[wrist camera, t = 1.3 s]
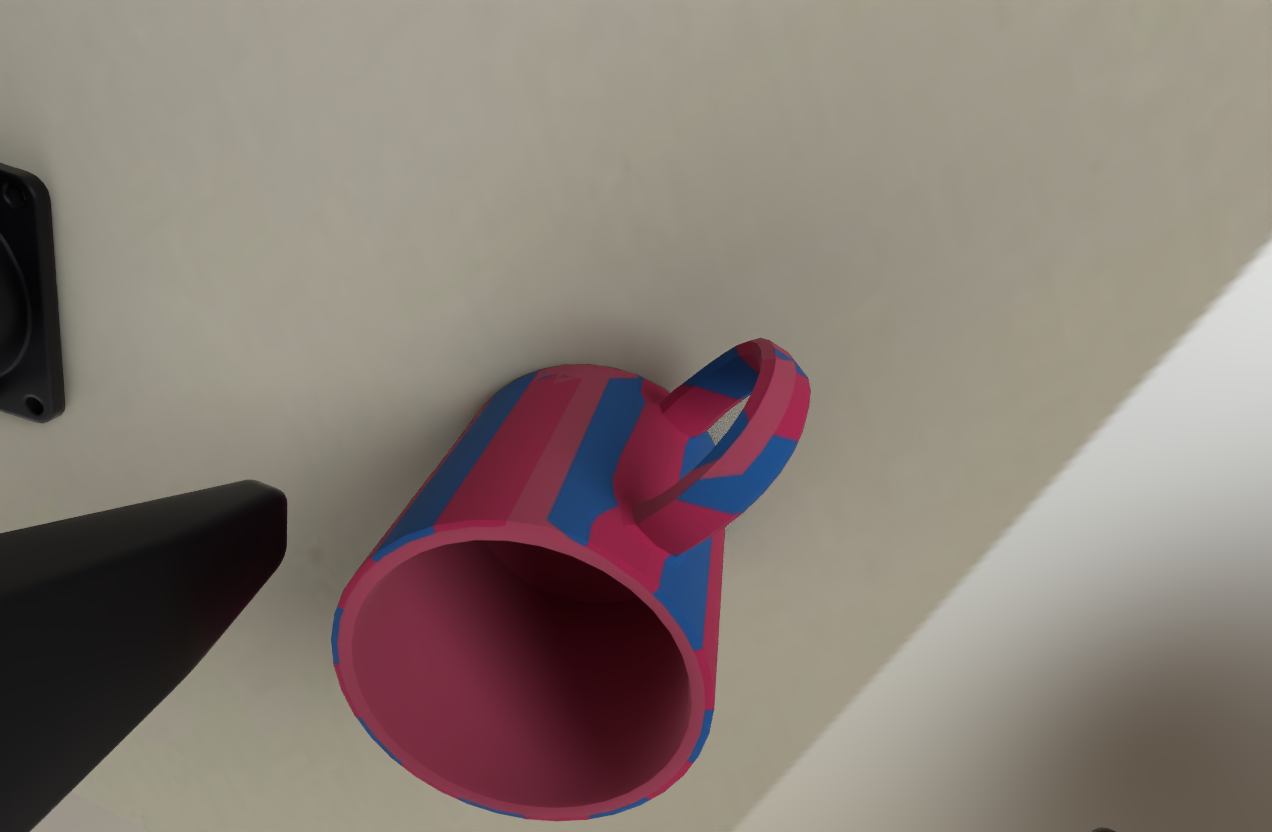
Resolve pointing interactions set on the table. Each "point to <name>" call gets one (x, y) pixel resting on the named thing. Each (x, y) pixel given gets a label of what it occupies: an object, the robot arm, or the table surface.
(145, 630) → the robot arm
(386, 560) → the cup
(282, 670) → the table surface
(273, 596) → the table surface
